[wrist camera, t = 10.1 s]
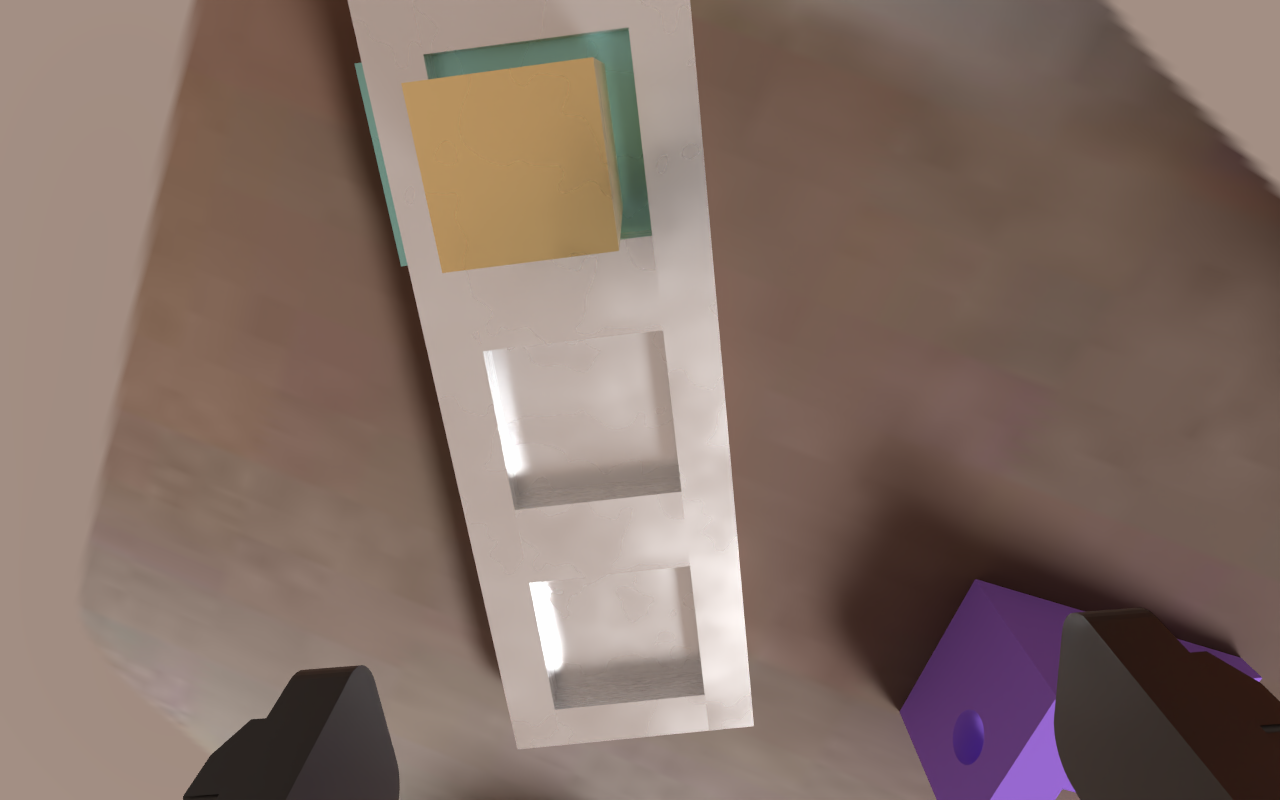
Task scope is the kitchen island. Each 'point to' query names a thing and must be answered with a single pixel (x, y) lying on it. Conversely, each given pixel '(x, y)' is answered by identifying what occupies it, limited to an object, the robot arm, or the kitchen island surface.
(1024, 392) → the kitchen island surface
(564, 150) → the brass block
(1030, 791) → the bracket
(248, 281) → the kitchen island surface
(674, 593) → the white compartment tray
